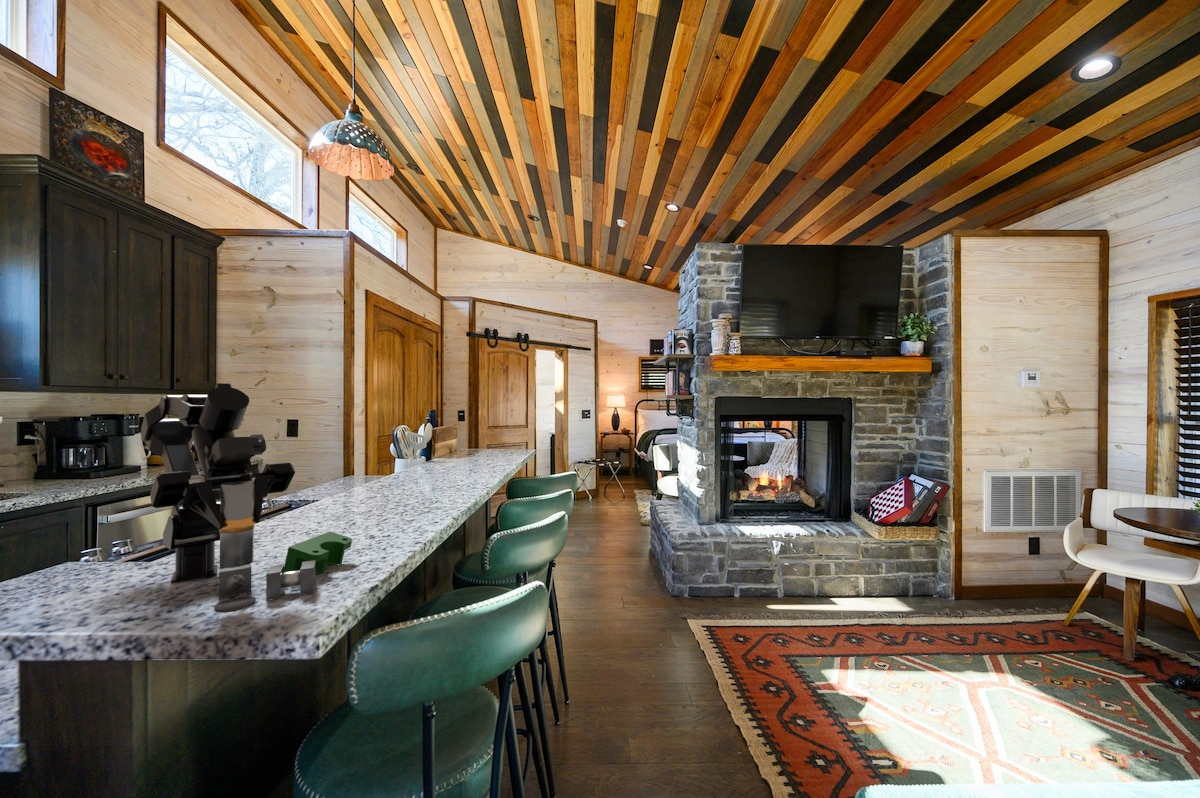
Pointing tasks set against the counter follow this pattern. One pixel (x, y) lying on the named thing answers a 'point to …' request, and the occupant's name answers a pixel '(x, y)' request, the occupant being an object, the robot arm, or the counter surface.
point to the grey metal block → (234, 581)
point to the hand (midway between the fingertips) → (240, 524)
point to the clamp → (318, 551)
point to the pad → (234, 603)
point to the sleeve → (237, 524)
